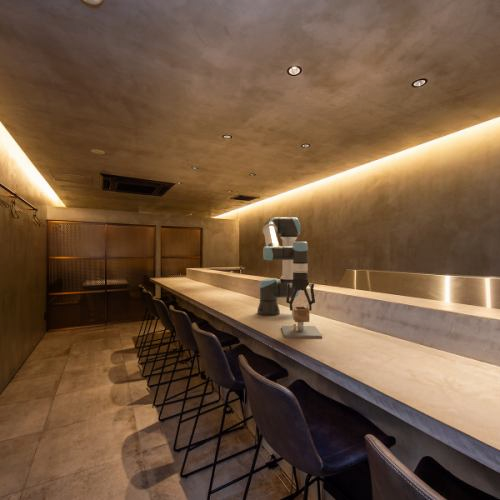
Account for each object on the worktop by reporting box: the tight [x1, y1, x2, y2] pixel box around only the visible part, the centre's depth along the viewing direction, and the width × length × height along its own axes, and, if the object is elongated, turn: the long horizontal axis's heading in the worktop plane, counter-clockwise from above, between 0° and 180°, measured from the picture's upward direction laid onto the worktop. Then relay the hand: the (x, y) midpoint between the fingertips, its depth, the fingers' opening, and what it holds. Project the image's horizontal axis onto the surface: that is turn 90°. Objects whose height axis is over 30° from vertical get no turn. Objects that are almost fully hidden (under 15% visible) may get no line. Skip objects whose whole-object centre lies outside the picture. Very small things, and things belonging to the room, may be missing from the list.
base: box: [281, 322, 323, 339], centre depth 148 cm, size 18×18×8 cm
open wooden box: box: [292, 305, 310, 323], centre depth 147 cm, size 10×7×6 cm
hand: (300, 316), depth 148 cm, fingers closed on open wooden box, 7 cm apart
